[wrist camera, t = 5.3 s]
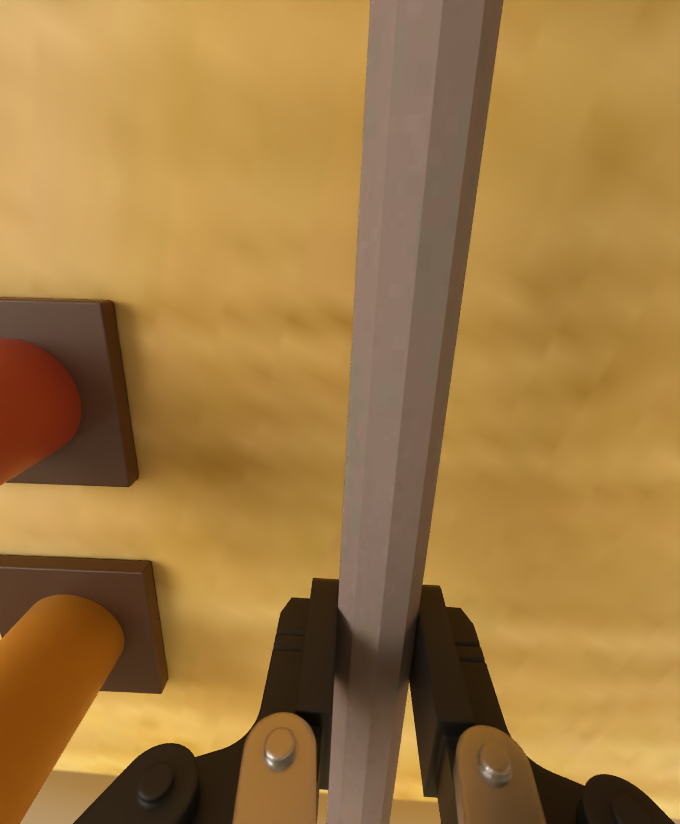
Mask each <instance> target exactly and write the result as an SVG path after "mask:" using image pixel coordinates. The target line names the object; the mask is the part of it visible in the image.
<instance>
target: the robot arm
mask: <svg viewBox="0 0 680 824" xmlns="http://www.w3.org/2000/svg"><path fill="white" fill-rule="evenodd" d="M338 595H339V579H323V578H313V581H312V588H311V596H310V599H308V598H291V599H290V601H289V602H288V603H287V605H286V606H285V607H284V609H283V610H282V611H281V613H280V618H279V623H278V628H277V634H276V637H275V642H274V648H273V651H272V656H271V661H270V666H269V670H268V675H267V680H266V685H265V689H264V694H263V699H262V704H261V708H260V712H259V715H258V717H257V720H256V722H255V723H254V725H253V726H252V728H251V729H250V730H249V732H248V733H247V734H246V735H245V736H244V737H243V738H241V739H240V740H239V741H237V742H236V743H234V744H232V745H231V746H229V747H226V748H224V749H221V750H218V751H214V752H211V753H208V754H204V755H201V756H198V757H194V755H193V753H192V752H191V751H190V750H189V749H188V748H186V747H185V746H182V745H180V744H175V743H166V744H161V745H158V746H155V747H152V748H150V749H149V750H147V751H145V752H144V753H142V754H141V755H139V756H138V757H137V758H136V759H135V760H134V761H133V762H132V763H131V764H130V765H129V766H128V767H127V768H126V769H125V770H124V771H123V772H122V773H121V774H120V775H119V776H118V777H117V778H116V780H114V782H113V783H112V784H111V785H110V786H109V787H108V788H107V789H106V790H105V791H104V792H103V793H102V794H101V795H100V796H99V797H98V798H97V799H96V800H95V801H94V802H93V803H92V804H91V805H90V806H89V807H88V808H87V810H86V811H85V812H84V813H83V814H82V815H81V816H80V817H79V818H78V819H77V820H76V821H75V822H74V823H73V824H317V814H318V798H319V789H324V790H329V772H330V754H331V735H332V717H333V697H334V677H335V657H336V637H337V616H338ZM409 682H410V690H411V698H412V706H413V714H414V722H415V730H416V738H417V746H418V754H419V761H420V769H421V777H422V785H423V793H424V797H436V798H438V804H439V811H440V818H441V824H675V823H674V822H673V821H672V820H671V819H670V818H669V817H668V816H667V815H666V814H665V813H664V812H663V811H662V810H661V809H660V808H659V807H658V806H657V805H656V804H655V803H654V802H653V801H652V800H651V799H650V798H649V797H648V796H647V795H646V794H645V793H644V792H643V791H641V790H640V789H639V788H637V787H636V786H634V785H633V784H631V783H630V782H628V781H626V780H624V779H622V778H619V777H616V776H613V775H608V774H600V775H596V776H594V777H592V778H590V779H589V780H588V781H587V783H586V785H585V786H584V785H581V784H579V783H577V782H574V781H572V780H569V779H567V778H564V777H562V776H560V775H557V774H555V773H552V772H550V771H548V770H546V769H544V768H542V767H541V766H539V765H537V764H536V763H535V762H533V761H532V760H531V759H529V758H528V757H527V756H526V754H525V753H524V751H523V750H522V748H521V747H520V746H519V745H518V744H517V742H515V741H514V740H513V739H512V738H511V736H510V734H509V732H508V730H507V727H506V724H505V721H504V718H503V715H502V712H501V709H500V706H499V703H498V699H497V696H496V693H495V690H494V687H493V684H492V681H491V678H490V674H489V671H488V668H487V665H486V663H485V659H484V656H483V653H482V649H481V647H480V643H479V640H478V637H477V634H476V631H475V628H474V625H473V623H472V622H471V621H470V619H469V618H468V617H467V616H466V614H465V613H464V612H463V611H462V609H461V608H454V607H446V606H445V602H444V598H443V594H442V591H441V588H440V586H438V585H422V591H421V598H420V605H419V612H418V619H417V626H416V633H415V640H414V648H413V655H412V662H411V669H410V677H409Z"/></svg>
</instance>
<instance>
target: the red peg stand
mask: <svg viewBox="0 0 680 824" xmlns="http://www.w3.org/2000/svg"><path fill="white" fill-rule="evenodd" d="M137 479H138V471H137V464H136V457H135V450H134V443H133V436H132V429H131V423H130V416H129V409H128V402H127V395H126V388H125V382H124V375H123V368H122V361H121V354H120V347H119V341H118V334H117V327H116V320H115V313H114V306H113V302H112V301H111V300H89V299H53V298H17V297H0V485H2V484H4V483H31V484H58V485H85V486H112V487H130V486H131V485H132V484H133V483H134V482H135V481H136V480H137Z"/></svg>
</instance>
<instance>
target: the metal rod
mask: <svg viewBox="0 0 680 824" xmlns="http://www.w3.org/2000/svg"><path fill="white" fill-rule="evenodd" d="M502 6H503V0H370V16H369V35H368V54H367V72H366V91H365V110H364V128H363V147H362V166H361V184H360V203H359V222H358V240H357V259H356V278H355V296H354V315H353V334H352V352H351V371H350V390H349V408H348V427H347V446H346V464H345V483H344V502H343V520H342V539H341V558H340V576H339V595H338V616H337V637H336V657H335V677H334V697H333V717H332V735H331V754H330V772H329V790H328V801H327V820H326V824H389V821H390V814H391V807H392V800H393V793H394V785H395V778H396V771H397V764H398V757H399V749H400V742H401V735H402V728H403V720H404V713H405V706H406V699H407V692H408V684H409V677H410V669H411V662H412V655H413V648H414V640H415V633H416V626H417V619H418V612H419V605H420V598H421V591H422V583H423V576H424V569H425V562H426V554H427V547H428V540H429V533H430V526H431V518H432V511H433V504H434V497H435V489H436V482H437V475H438V468H439V461H440V453H441V446H442V439H443V432H444V425H445V417H446V410H447V403H448V396H449V388H450V381H451V374H452V367H453V360H454V352H455V345H456V338H457V331H458V323H459V316H460V309H461V302H462V295H463V287H464V280H465V273H466V266H467V258H468V251H469V244H470V237H471V230H472V222H473V215H474V208H475V201H476V194H477V186H478V179H479V172H480V165H481V157H482V150H483V143H484V136H485V129H486V121H487V114H488V107H489V100H490V92H491V85H492V78H493V71H494V64H495V56H496V49H497V42H498V35H499V28H500V20H501V13H502Z"/></svg>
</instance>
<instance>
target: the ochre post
mask: <svg viewBox="0 0 680 824" xmlns="http://www.w3.org/2000/svg"><path fill="white" fill-rule="evenodd" d="M0 634H1V637H2V639H1V640H0V824H20V822H21V821H22V819H23V817H24V816H25V814H26V812H27V811H28V809H29V807H30V806H31V804H32V802H33V801H34V799H35V797H36V796H37V794H38V792H39V791H40V789H41V787H42V786H43V784H44V782H45V781H46V779H47V777H48V776H49V774H50V772H51V771H52V769H53V767H54V766H55V764H56V762H57V761H58V759H59V757H60V756H61V754H62V752H63V751H64V749H65V747H66V746H67V744H68V742H69V741H70V739H71V737H72V736H73V734H74V732H75V731H76V729H77V727H78V726H79V724H80V722H81V721H82V719H83V717H84V716H85V714H86V712H87V711H88V709H89V707H90V706H91V704H92V702H93V701H94V699H95V697H96V696H97V694H98V692H99V691H110V692H131V693H152V694H161V693H162V692H163V689H164V687H165V685H166V683H167V680H168V676H167V669H166V662H165V655H164V648H163V641H162V635H161V628H160V621H159V614H158V607H157V600H156V594H155V587H154V580H153V573H152V566H151V562H150V561H133V560H109V559H84V558H60V557H35V556H11V555H0Z"/></svg>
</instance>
